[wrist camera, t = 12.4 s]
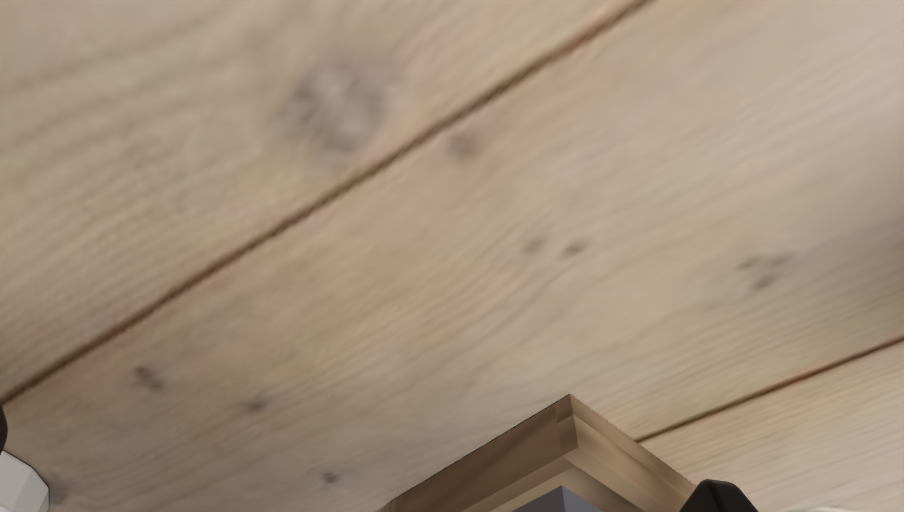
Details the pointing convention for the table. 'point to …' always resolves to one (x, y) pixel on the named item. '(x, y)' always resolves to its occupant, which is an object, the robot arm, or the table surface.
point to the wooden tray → (554, 469)
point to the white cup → (21, 487)
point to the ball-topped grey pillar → (558, 502)
